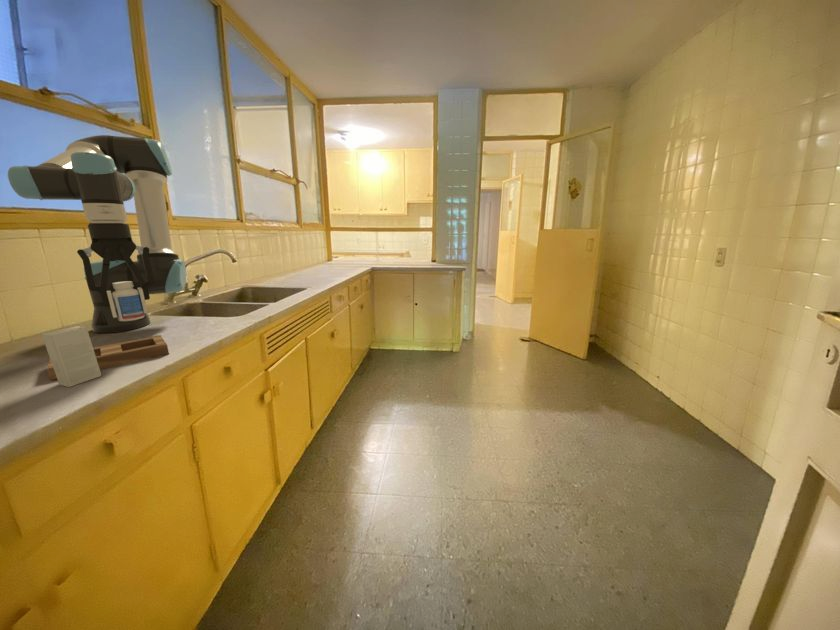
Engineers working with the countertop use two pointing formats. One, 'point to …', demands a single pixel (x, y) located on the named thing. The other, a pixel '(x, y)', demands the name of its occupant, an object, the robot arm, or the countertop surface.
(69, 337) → the skincare box
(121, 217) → the robot arm
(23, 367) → the countertop surface
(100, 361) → the socket block
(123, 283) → the pill bottle
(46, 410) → the countertop surface
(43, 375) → the countertop surface
